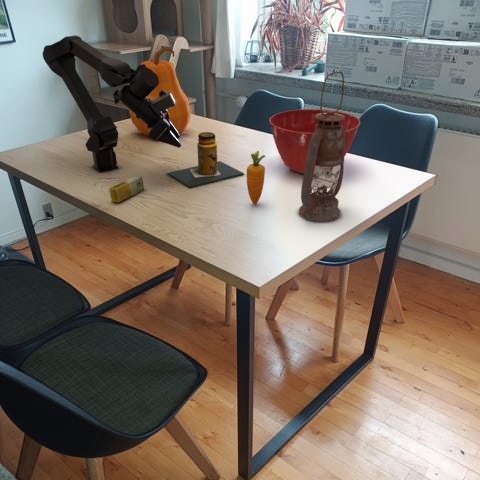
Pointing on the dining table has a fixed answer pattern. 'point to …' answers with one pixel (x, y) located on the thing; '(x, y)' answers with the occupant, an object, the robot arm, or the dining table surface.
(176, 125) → the decorative pumpkin
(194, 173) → the condiment
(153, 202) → the dining table surface
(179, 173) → the placemat
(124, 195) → the medication box
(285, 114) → the mixing bowl
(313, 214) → the lantern
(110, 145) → the robot arm
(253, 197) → the carrot
